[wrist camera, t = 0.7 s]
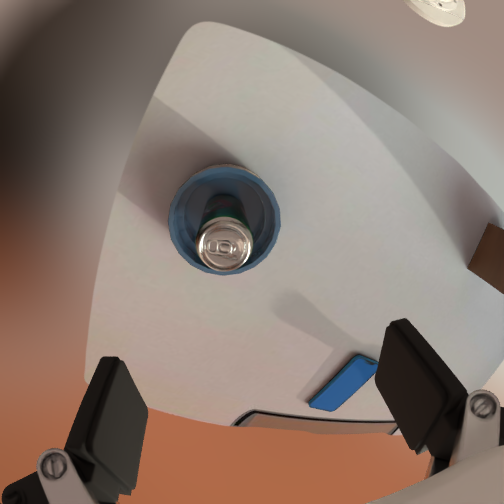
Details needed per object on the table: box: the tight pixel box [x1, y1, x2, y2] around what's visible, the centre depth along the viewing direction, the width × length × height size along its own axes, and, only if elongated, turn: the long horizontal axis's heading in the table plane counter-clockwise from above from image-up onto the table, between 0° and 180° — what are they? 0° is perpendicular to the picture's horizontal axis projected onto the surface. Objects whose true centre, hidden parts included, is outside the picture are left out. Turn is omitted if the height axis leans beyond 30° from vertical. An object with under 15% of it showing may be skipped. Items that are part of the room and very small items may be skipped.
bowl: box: [168, 164, 281, 275], centre depth 33 cm, size 12×12×5 cm
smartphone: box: [308, 355, 379, 412], centre depth 49 cm, size 7×1×15 cm
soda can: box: [195, 194, 253, 272], centre depth 30 cm, size 5×5×12 cm
